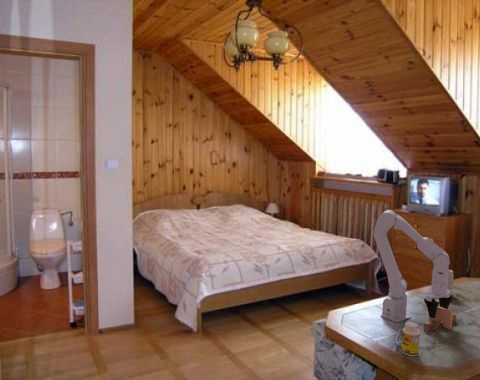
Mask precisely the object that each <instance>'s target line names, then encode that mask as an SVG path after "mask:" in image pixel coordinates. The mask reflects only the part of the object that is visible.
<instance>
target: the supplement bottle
mask: <svg viewBox="0 0 480 380" xmlns="http://www.w3.org/2000/svg"><path fill="white" fill-rule="evenodd" d="M418 327H419V325H418V324H417V323H415V322H412V321H407V322H405V324H404V327H403V328H402V330H401V332H402V333H401V342H400V344H401V345H400V351H401V353H402V354H403V355H405V356H407V355H408V357H416V356H418V355H419V351H420V338H421V337H420V335H421V331H420V330H419V328H418Z"/></svg>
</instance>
